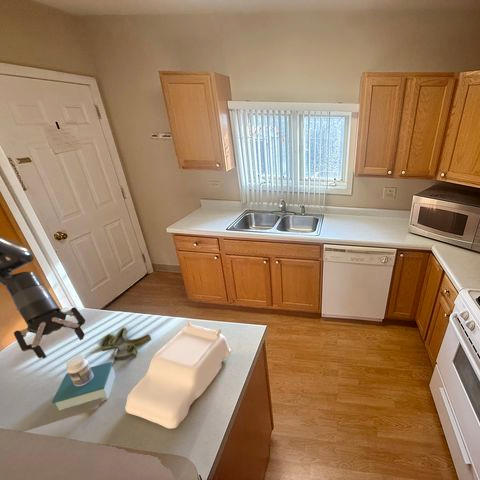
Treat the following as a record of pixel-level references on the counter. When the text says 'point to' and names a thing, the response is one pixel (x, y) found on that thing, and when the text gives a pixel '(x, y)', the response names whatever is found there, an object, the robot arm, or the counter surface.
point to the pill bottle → (79, 370)
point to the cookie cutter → (129, 348)
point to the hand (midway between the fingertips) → (64, 348)
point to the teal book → (86, 388)
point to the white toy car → (178, 375)
